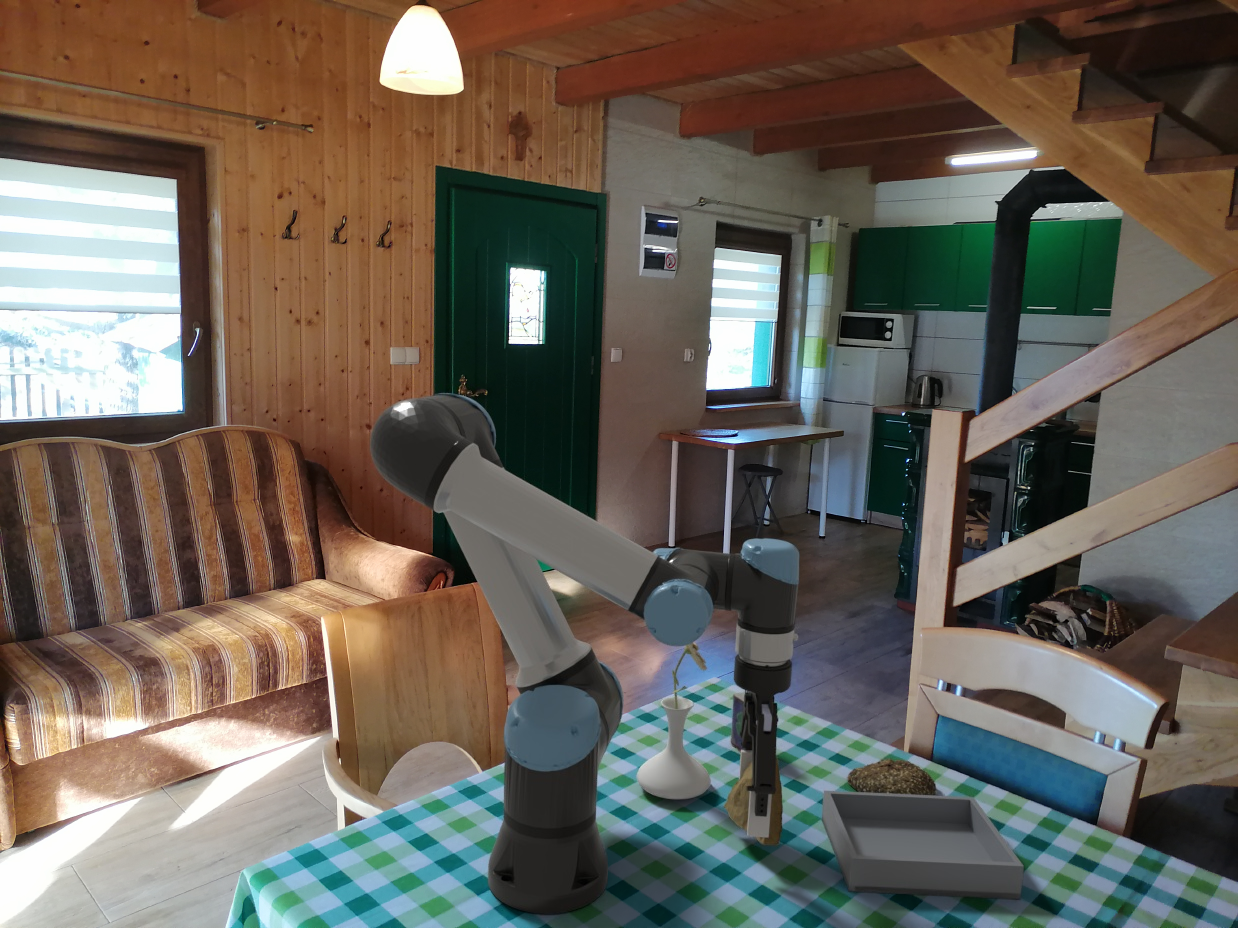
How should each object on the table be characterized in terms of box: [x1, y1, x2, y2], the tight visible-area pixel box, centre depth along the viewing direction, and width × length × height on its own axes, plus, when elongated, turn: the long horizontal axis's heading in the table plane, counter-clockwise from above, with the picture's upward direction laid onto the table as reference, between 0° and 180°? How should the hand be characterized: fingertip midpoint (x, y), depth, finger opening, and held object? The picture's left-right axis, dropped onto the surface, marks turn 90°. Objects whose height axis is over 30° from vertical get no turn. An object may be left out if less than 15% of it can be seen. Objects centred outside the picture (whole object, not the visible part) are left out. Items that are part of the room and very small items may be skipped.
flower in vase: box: [636, 642, 712, 800], centre depth 142 cm, size 13×11×25 cm
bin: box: [821, 790, 1025, 900], centre depth 126 cm, size 22×18×4 cm
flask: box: [730, 692, 745, 754], centre depth 156 cm, size 9×3×11 cm, turn 21°
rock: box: [722, 755, 784, 846], centre depth 126 cm, size 11×9×10 cm
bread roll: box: [846, 758, 937, 796], centre depth 146 cm, size 13×12×5 cm
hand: (752, 814), depth 126 cm, fingers closed on rock, 10 cm apart
